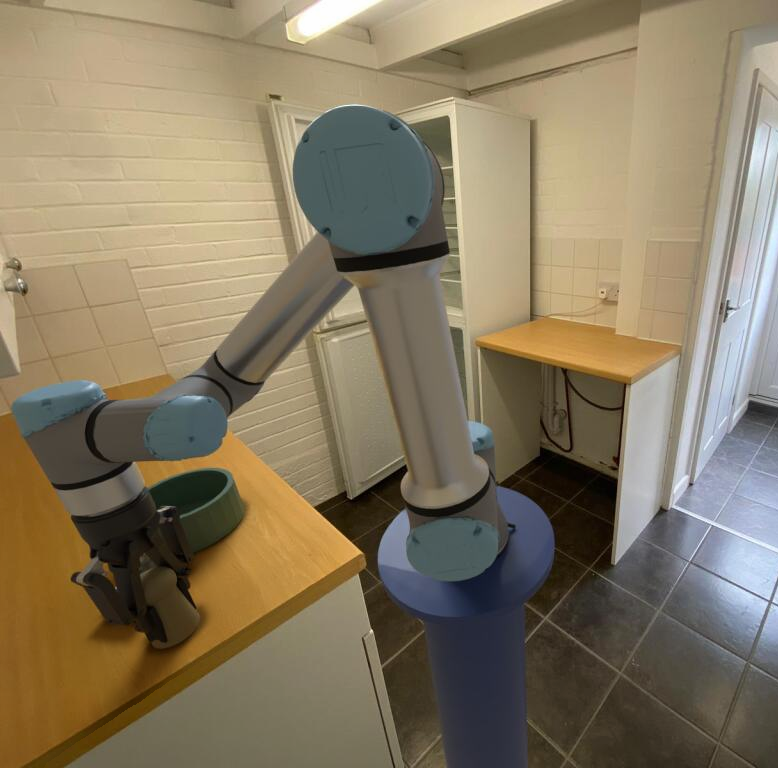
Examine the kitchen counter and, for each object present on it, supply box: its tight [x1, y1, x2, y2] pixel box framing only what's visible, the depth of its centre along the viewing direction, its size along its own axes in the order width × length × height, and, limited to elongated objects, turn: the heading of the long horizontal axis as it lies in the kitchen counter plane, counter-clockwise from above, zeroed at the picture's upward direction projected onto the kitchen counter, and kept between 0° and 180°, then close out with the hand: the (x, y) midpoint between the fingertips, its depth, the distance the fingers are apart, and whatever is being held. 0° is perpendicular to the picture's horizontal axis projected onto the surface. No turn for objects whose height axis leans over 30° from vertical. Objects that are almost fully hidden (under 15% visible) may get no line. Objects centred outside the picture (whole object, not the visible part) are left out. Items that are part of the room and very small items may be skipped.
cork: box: [140, 566, 201, 650], centre depth 61 cm, size 6×6×11 cm
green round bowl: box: [142, 467, 245, 555], centre depth 82 cm, size 17×17×8 cm
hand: (173, 623), depth 63 cm, fingers open, 4 cm apart
